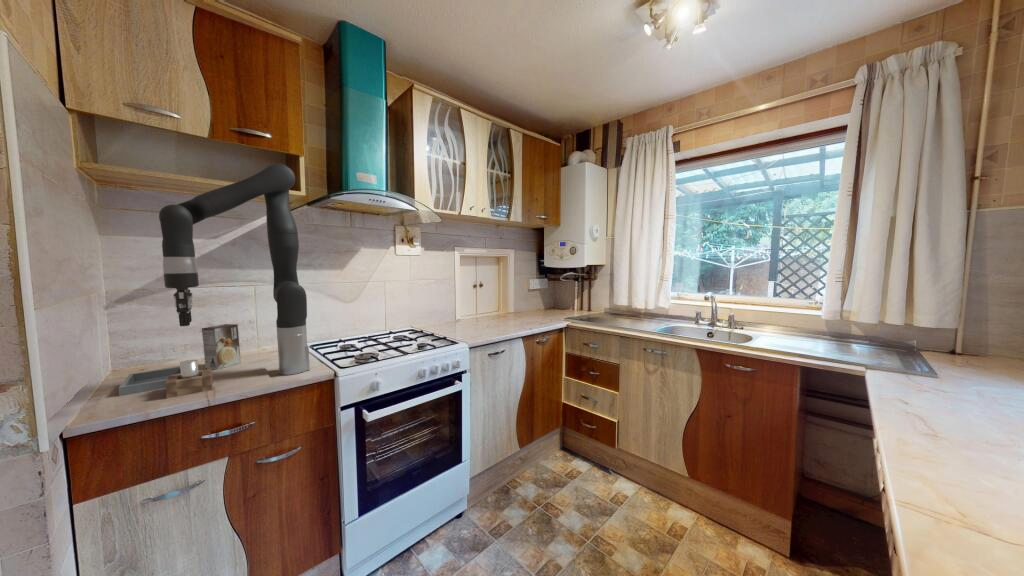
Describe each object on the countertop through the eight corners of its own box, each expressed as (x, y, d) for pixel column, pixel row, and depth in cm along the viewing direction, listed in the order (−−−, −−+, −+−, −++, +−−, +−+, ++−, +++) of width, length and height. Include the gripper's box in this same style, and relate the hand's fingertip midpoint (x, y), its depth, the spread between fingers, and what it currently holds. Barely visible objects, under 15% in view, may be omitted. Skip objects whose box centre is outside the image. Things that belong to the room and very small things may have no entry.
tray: (187, 374, 123) (187, 365, 123) (184, 387, 111) (183, 377, 110) (130, 384, 114) (129, 374, 114) (119, 399, 101) (118, 387, 101)
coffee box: (228, 362, 139) (225, 323, 138) (241, 362, 138) (238, 324, 137) (204, 369, 130) (201, 328, 129) (217, 369, 129) (214, 328, 128)
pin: (200, 386, 109) (197, 358, 108) (199, 389, 106) (197, 361, 105) (182, 389, 106) (180, 361, 106) (181, 392, 103) (179, 364, 103)
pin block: (212, 384, 113) (211, 368, 113) (212, 393, 106) (211, 375, 105) (170, 392, 107) (169, 375, 106) (167, 401, 99) (165, 383, 99)
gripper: (196, 271, 100) (201, 325, 102) (198, 271, 111) (203, 319, 112) (160, 272, 95) (166, 329, 97) (166, 271, 106) (171, 322, 108)
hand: (186, 324), depth 105 cm, fingers open, 8 cm apart
